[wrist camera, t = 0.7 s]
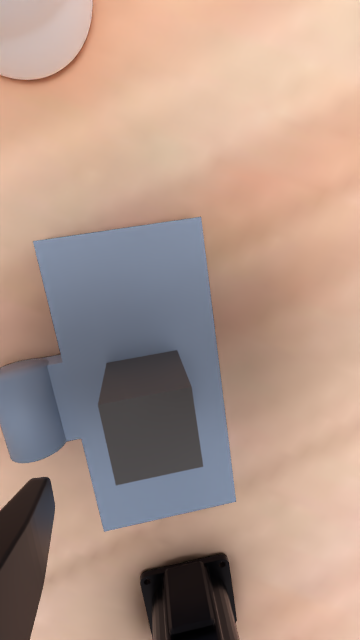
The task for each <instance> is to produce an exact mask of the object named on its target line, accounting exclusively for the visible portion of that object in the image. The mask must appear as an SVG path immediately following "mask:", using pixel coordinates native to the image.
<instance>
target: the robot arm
mask: <svg viewBox="0 0 360 640" xmlns="http://www.w3.org/2000/svg"><path fill="white" fill-rule="evenodd" d="M54 513H55V502H54V497H53V491H52V486H51V481H50V479H49V478H48V477H40V478H33V479H31V480H29V481H28V482H27V483H26V484H25V485H24V486H23V487H22V489H21V490H20V491H19V492H18V493H17V494H16V495H15V496H14V497H13V498H12V499H11V500H10V501H9V502H8V503H7V504H6V505H5V506H4V507H3V508H2V509H1V510H0V640H30V636H31V633H32V629H33V625H34V621H35V617H36V613H37V609H38V605H39V601H40V597H41V593H42V589H43V584H44V579H45V573H46V566H47V560H48V553H49V546H50V540H51V533H52V526H53V520H54ZM140 584H141V588H142V593H143V597H144V602H145V606H146V611H147V615H148V620H149V624H150V629H151V633H152V638H153V640H239V636H238V632H237V628H236V624H235V623H236V621H237V618H236V611H235V604H234V596H233V589H232V582H231V574H230V567H229V562H228V558H227V556H226V555H224V554H220V555H216V556H211V557H207V558H202V559H198V560H193V561H189V562H185V563H180V564H176V565H171V566H167V567H163V568H158V569H154V570H149V571H145V572H143V573H142V574H141V576H140Z"/></svg>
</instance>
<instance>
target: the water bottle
mask: <svg viewBox="0 0 360 640" xmlns="http://www.w3.org/2000/svg"><path fill="white" fill-rule="evenodd" d="M92 7H93V1H92V0H0V75H2V76H5V77H9V78H13V79H22V80H32V79H40V78H44V77H47V76H50V75H52V74H54V73H56V72H58V71H60V70H61V69H63V68H64V67H65V66H67V65H68V64H69V63H70V62H71V61H72V60H73V59H74V58H75V56H76V55H77V54H78V52H79V51H80V50H81V48H82V46H83V44H84V42H85V40H86V37H87V35H88V31H89V28H90V24H91V18H92Z"/></svg>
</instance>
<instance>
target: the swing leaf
mask: <svg viewBox="0 0 360 640" xmlns="http://www.w3.org/2000/svg"><path fill="white" fill-rule="evenodd" d="M33 243H34V247H35V251H36V255H37V260H38V264H39V268H40V272H41V276H42V280H43V284H44V288H45V292H46V296H47V300H48V305H49V309H50V313H51V317H52V321H53V325H54V329H55V333H56V337H57V341H58V345H59V349H60V354H61V355H55V356H50V357H44V358H35V359H28V360H22V361H18V362H15V363H11V364H8V365H6V366H3V367H1V368H0V425H1V428H2V432H3V435H4V438H5V441H6V445H7V448H8V451H9V454H10V458H11V459H12V460H13V461H14V462H17V463H30V462H35V461H38V460H41V459H44V458H46V457H48V456H50V455H52V454H54V453H55V452H57V451H58V450H59V449H61V448H62V447H63V446H64V444H65V443H66V441H71V440H76V439H82V443H83V447H84V452H85V456H86V460H87V464H88V468H89V472H90V476H91V480H92V484H93V488H94V492H95V497H96V501H97V505H98V509H99V513H100V517H101V521H102V525H103V529H104V532H105V531H109V530H113V529H118V528H122V527H127V526H131V525H135V524H140V523H144V522H149V521H153V520H157V519H162V518H166V517H171V516H175V515H179V514H184V513H188V512H193V511H197V510H201V509H206V508H210V507H215V506H219V505H223V504H228V503H232V502H236V497H235V489H234V481H233V473H232V464H231V456H230V448H229V440H228V432H227V424H226V416H225V408H224V400H223V391H222V383H221V375H220V367H219V359H218V351H217V343H216V335H215V327H214V318H213V310H212V302H211V294H210V286H209V278H208V270H207V262H206V254H205V245H204V237H203V229H202V221H201V217H196V218H189V219H183V220H176V221H169V222H162V223H155V224H148V225H141V226H134V227H128V228H121V229H114V230H107V231H100V232H93V233H86V234H80V235H73V236H66V237H59V238H52V239H45V240H38V241H33Z"/></svg>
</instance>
